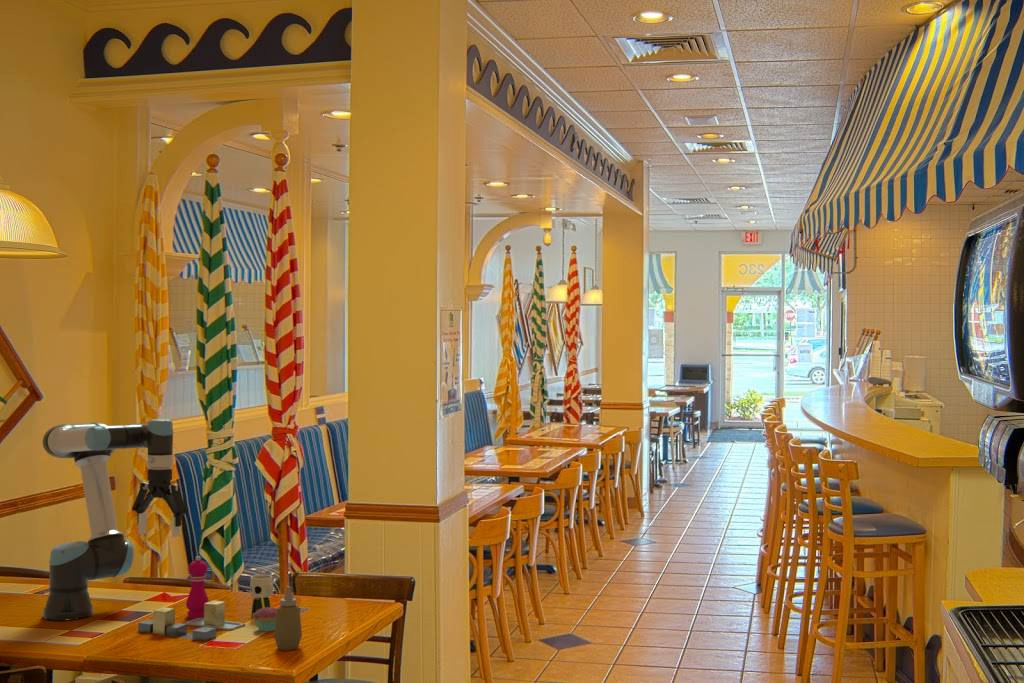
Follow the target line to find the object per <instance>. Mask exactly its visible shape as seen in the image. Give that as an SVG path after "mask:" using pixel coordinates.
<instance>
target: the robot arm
mask: <svg viewBox="0 0 1024 683" xmlns="http://www.w3.org/2000/svg"><path fill="white" fill-rule="evenodd" d="M173 429H174V427H173V421H172V420H171V419H170V418H169V419H168V418H167V419H165V418H157V419H156V418H155V419H154V418H153V419H150V420H149V421H148V422H147V424H146V423H134V424H122V425H120V424H119V425H107V424H105V423H100V422H90V423H89V422H88V423H86V422H85V423H70V424H69V423H68V424H67V423H66V424H65V423H64V424H58V425H55V426H53V427H51V428H49V429H48V430H47V431H46V432H45V433H44V435H43V438H42V447H43V449H44V451H45V452H46V453H47V454H48V455H50V456H51V457H54V458H58V459H73V460H74V465H75V466H76V467H79V469H80V472H81V479H82V486H83V493H84V498H85V505H86V512H87V515H88V516H87V518H88V524H89V530H90V535H91V536H90V537H89V538H88V540H87V541H84V540H82V541H81V540H79V541H78V540H77V541H70V542H65V543H61V544H58V545H56V546H55V547H53V548H52V549H51V550H50V554H49V562H48V564H49V589H48V590H49V591H48V593H49V594H48V596H47V600H46V603H45V607H44V608H43V611H42V617H44V618H46V619H45V620H47V619H53V620H52V621H55V620H64V621H67V620H66V619H75V620H77V619H76V618H81V617H85V618H87V617H86V616H88V617H90V616H89V615H91V614H92V613H93V614H94V605H93V604H92V600H91V597H90V594H89V590H88V589H89V585H88V584H89V582H90V581H94V580H101V579H108V578H116V577H119V576H120V577H121V576H124V575H126V574H127V573H128V572H130V569H131V568H132V565H133V561H134V557H135V555H134V552H135V551H134V547H133V543H132V542H131V541H130V540H128V539H125V536H124V533H123V532H121V531H119V529H118V523H117V517H116V512H115V510H116V509H115V506H114V500H113V493H112V487H111V482H110V475H109V470H108V462H109V460H111V455H112V454H113V453H114V452H115V450H122V449H123V450H124V449H141V448H144V449H147V467H148V469H147V471H146V473H147V474H146V476H147V478H146V479H147V481H144V482H140V484H139V491H138V492H137V493H138V494H137V495H136V498H135V501H134V503H133V505H132V507H131V510H132V511H134V512H136V514H137V519H136V521H137V522H136V523H137V524H138V535H143V534H144V535H145V534H147V524H148V523H147V522H148V521H147V518H148V517H147V516H148V514H147V513H148V512H146V510H147V509H148V508H149V506H150V504H151V503H152V502H153V500H154V499H156V498H159V499H163V501H165V503H166V504H167V506H168V508H169V509H170V511H171V512H172V514H173V515H172V516H171V517H172V518H171V538H172V539H174V538H179V537H180V535H181V533H180V532H181V526H182V518H183V516H184V515H187V514H188V511H187V507H186V505H185V502H184V499H183V496H182V494H181V491H180V484H179V483H175V484H172V479H173V449H174V445H173V442H174V441H173V440H174V430H173ZM93 614H92V615H93ZM92 615H91V616H92ZM44 618H43V619H44ZM81 619H82V618H81Z"/></svg>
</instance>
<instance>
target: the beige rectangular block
mask: <svg viewBox="0 0 1024 683" xmlns="http://www.w3.org/2000/svg"><path fill="white" fill-rule="evenodd" d="M225 621H226V602H225V601H223V600H211V601H210V600H209V602H207V603H204V624H205V625H212V626H220V625H223V624H225Z"/></svg>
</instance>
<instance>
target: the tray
mask: <svg viewBox="0 0 1024 683" xmlns="http://www.w3.org/2000/svg"><path fill="white" fill-rule="evenodd" d="M184 624H187V626H194V627H199V628H202V627H209V628H216V630H223V631H230V632H231V631H234V630H236V629H239V628H242V627H245V626H246V623H245V622H244V623H242V622H238V621H235V622H234V621H229V620H225V624H223V625H220V626H212V625H205V624H204V618H203V617H202V618H193V619H191V620H188V621H185V622H184Z"/></svg>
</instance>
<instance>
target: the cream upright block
mask: <svg viewBox="0 0 1024 683" xmlns="http://www.w3.org/2000/svg"><path fill="white" fill-rule="evenodd" d="M152 613H153V617H152V620H153V633H155V634H154V635H159V634H162V635H161V636H166V634H167V627H168V626H171V625H174V624H176V608H172V607H166V606H165V607H164V606H163V607H160V608H157V609H156V608H155V609H153V612H152Z"/></svg>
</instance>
